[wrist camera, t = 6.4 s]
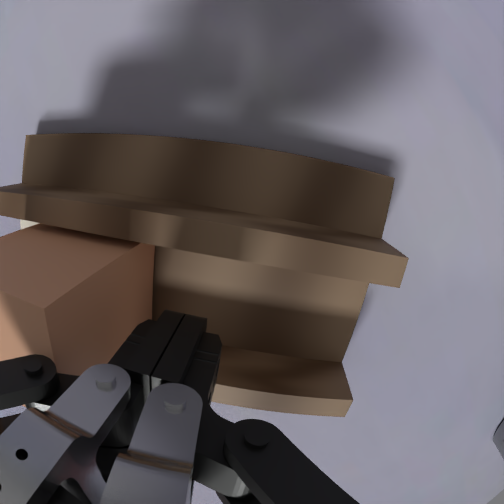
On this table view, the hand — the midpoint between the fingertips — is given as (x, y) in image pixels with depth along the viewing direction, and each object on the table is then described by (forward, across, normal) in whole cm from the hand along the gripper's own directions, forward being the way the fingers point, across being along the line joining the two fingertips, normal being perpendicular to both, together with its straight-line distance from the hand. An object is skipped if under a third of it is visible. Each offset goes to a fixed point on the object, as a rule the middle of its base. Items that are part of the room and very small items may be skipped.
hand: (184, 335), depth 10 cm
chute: (+5, +2, 0) cm, 6 cm away
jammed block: (+4, +6, 0) cm, 7 cm away
